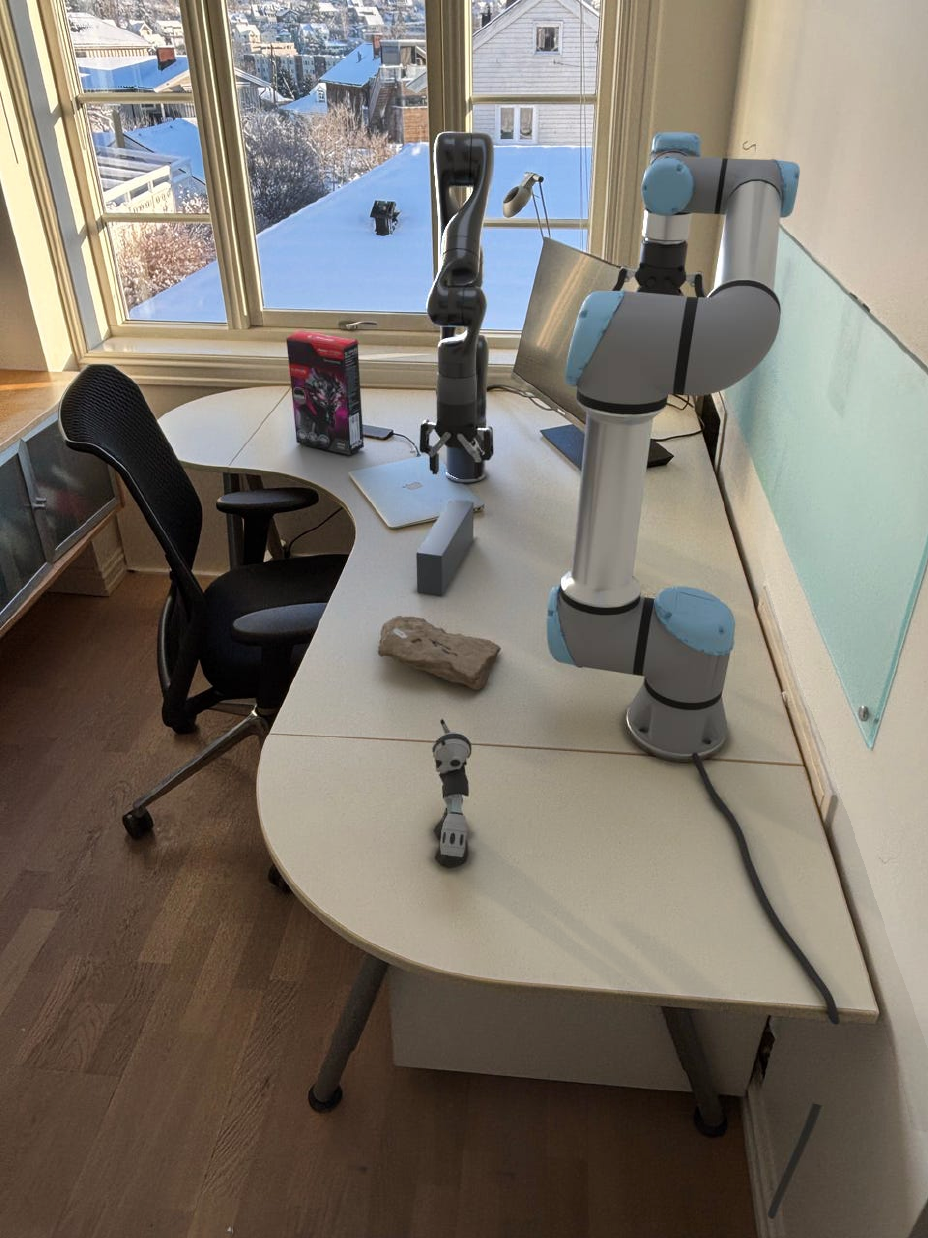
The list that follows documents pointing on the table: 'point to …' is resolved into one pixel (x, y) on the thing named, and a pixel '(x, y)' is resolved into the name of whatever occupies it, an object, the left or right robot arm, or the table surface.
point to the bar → (445, 547)
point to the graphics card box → (326, 391)
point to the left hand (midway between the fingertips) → (456, 475)
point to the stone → (438, 651)
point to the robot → (452, 796)
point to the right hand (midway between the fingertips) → (649, 367)
